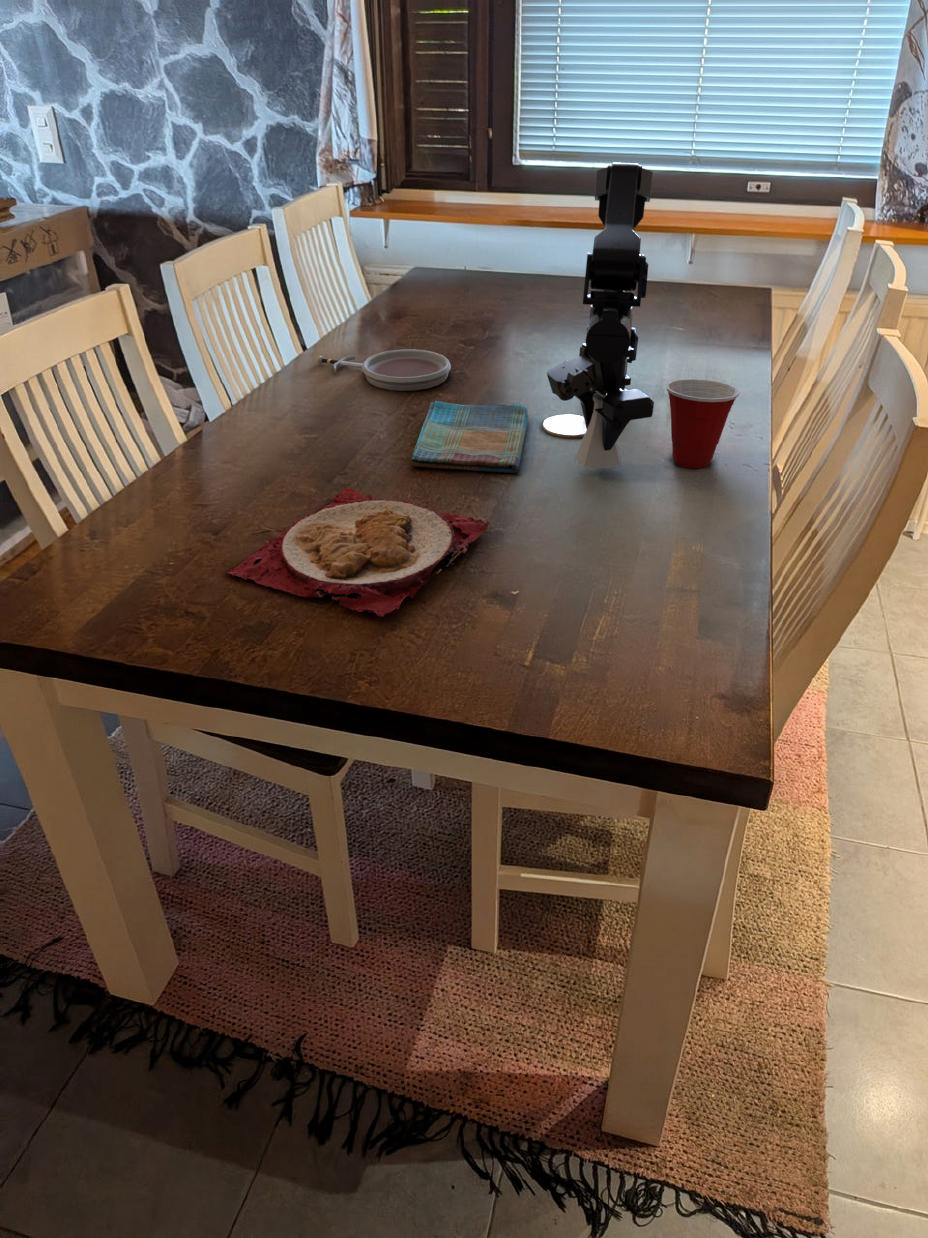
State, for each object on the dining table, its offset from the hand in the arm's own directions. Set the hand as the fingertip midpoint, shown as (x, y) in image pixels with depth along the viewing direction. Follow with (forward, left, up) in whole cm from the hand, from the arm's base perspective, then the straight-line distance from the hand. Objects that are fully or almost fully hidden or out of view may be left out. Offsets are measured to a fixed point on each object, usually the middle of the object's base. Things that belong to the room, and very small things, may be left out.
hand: (599, 443), depth 136 cm
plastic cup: (-16, +2, -5) cm, 16 cm away
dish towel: (+14, -17, -5) cm, 23 cm away
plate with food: (+40, +12, -5) cm, 42 cm away
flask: (0, 0, -3) cm, 3 cm away
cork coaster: (-3, -17, -5) cm, 18 cm away
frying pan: (+19, -54, -5) cm, 57 cm away
